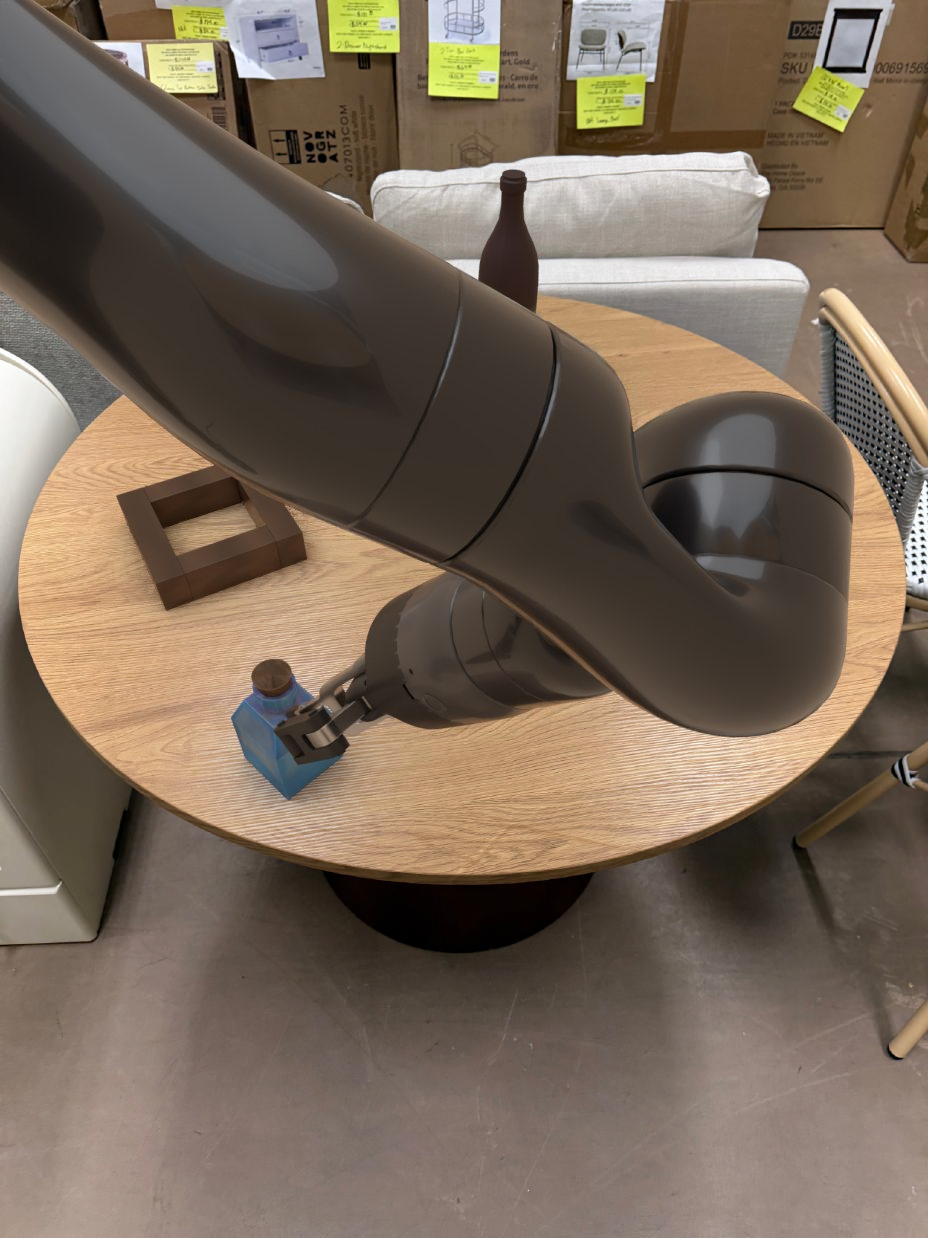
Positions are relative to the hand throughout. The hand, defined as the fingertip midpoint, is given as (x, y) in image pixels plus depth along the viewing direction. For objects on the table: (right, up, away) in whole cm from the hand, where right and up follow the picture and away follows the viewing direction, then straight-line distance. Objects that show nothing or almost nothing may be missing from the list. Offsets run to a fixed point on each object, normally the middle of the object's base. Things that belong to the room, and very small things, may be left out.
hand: (348, 685), depth 53 cm
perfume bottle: (-8, -8, +20) cm, 22 cm away
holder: (-20, +13, +38) cm, 45 cm away
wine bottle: (+13, +31, +55) cm, 65 cm away
